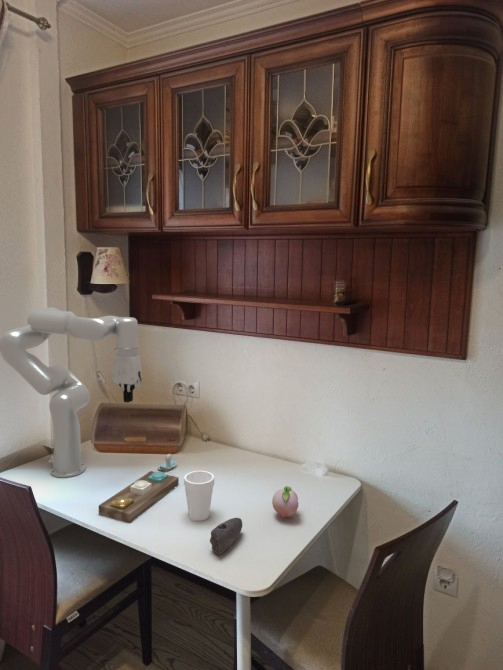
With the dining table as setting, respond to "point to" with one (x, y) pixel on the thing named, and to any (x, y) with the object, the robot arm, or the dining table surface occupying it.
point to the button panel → (138, 499)
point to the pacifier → (168, 463)
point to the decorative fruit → (285, 502)
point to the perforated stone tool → (225, 534)
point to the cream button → (141, 487)
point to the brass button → (122, 502)
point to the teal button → (158, 477)
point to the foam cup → (199, 494)
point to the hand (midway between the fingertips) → (128, 401)
